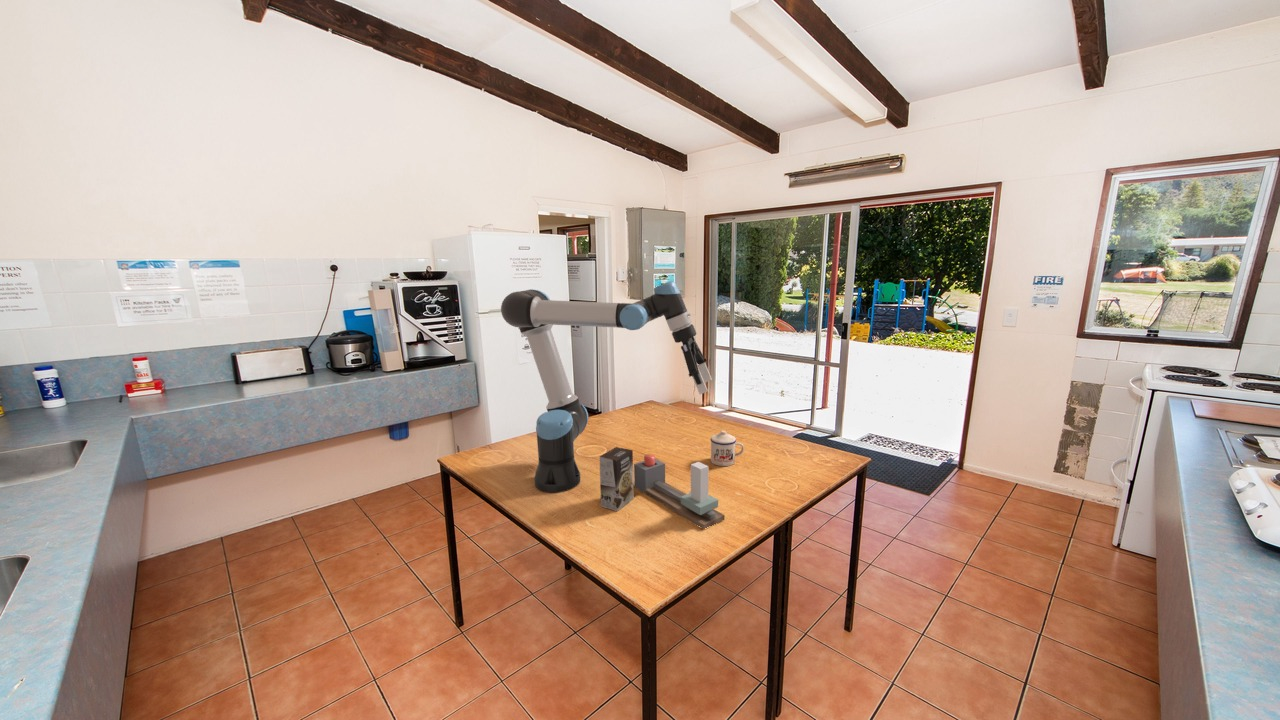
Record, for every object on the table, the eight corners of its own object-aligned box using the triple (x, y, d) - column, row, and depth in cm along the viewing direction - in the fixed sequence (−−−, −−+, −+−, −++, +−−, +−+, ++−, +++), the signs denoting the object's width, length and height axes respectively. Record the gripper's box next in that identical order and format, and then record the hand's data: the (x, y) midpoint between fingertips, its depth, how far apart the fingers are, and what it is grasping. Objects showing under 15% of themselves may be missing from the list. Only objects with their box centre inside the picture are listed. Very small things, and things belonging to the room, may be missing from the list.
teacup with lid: (711, 466, 166) (711, 435, 164) (709, 456, 175) (709, 426, 173) (745, 467, 165) (746, 436, 163) (741, 456, 174) (742, 427, 172)
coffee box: (617, 512, 137) (616, 460, 133) (600, 506, 140) (598, 456, 137) (634, 498, 144) (633, 449, 141) (617, 493, 148) (616, 445, 144)
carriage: (700, 515, 128) (700, 473, 125) (680, 503, 134) (680, 464, 132) (718, 507, 132) (718, 466, 129) (698, 496, 138) (698, 457, 136)
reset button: (648, 474, 148) (648, 459, 147) (642, 470, 151) (642, 456, 150) (657, 471, 150) (656, 456, 149) (650, 467, 153) (650, 453, 152)
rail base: (703, 529, 127) (704, 519, 126) (645, 493, 147) (645, 485, 146) (724, 520, 131) (724, 510, 131) (665, 486, 152) (665, 477, 151)
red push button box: (645, 493, 147) (645, 470, 145) (634, 487, 152) (634, 464, 150) (665, 486, 152) (665, 463, 150) (653, 480, 156) (653, 457, 155)
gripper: (686, 329, 139) (713, 394, 142) (697, 318, 163) (719, 373, 165) (663, 338, 141) (690, 402, 144) (677, 325, 165) (700, 380, 167)
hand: (706, 386), depth 155 cm, fingers open, 13 cm apart
